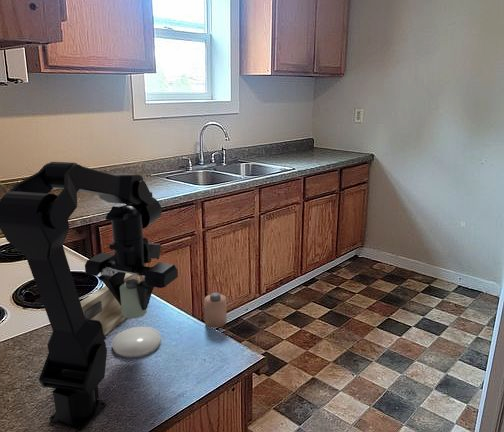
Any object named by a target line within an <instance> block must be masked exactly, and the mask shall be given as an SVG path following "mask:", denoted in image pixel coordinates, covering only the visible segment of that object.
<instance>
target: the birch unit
mask: <svg viewBox="0 0 504 432" xmlns="http://www.w3.org/2000/svg"><path fill="white" fill-rule="evenodd" d="M138 276H139V275H135V274H129V273H126V274H125V277H124V283H126V281H128V280H131V279H136V280H138ZM80 303H81V306H82V310H83V313H84V316H85V319H90V320H98V321H100V323H101V324H102V329H103V333H104V335H105V336H106V335H107V334H109V333H110V332H111V331H112V330H113V329H115V328H117V326H119V325H120V324H121V323H122V322H123V321H125V320H126V319H127V318H125V317H123V316H122V308H121V305H120V304H119V302H118V301H117V300H116V298H115V297H114V295H113V294H112V293H111V291H110V290H109V289H108V288H107V286H106V285H104V286H103V287H100V289H98V290H97V291H95V292H93V293H92V294H90V295H88V296H87V297H85V298H84V299H82V300H81V301H80Z"/></svg>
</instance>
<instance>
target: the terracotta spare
mask: <svg viewBox="0 0 504 432" xmlns="http://www.w3.org/2000/svg"><path fill="white" fill-rule="evenodd" d="M204 323H205V326H207V327H209V328H210V329H211V328H212V329H218V328H222V327H224V326H226V324H227V297H226V296H225V295H223V294H221V293H219V292H212V293H210V294H208V295H206V296H205V297H204Z"/></svg>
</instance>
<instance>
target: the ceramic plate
mask: <svg viewBox="0 0 504 432" xmlns="http://www.w3.org/2000/svg"><path fill="white" fill-rule="evenodd" d="M161 337H162V336H161V333H160V331H158V330H157V329H155V328H153V327H149V326H134V327H131V328H127V329H124V330H122V331H120V332H119V333H117V334H116V335H115V336H114V338H113V339H112V342H111V343H112V345H111V346H112V350H113V352H114V353H115V354H116V355H118V356H121V357H124V358H138V357H144V356H146V355H147V356H148V355H149V354H151V353H153V352H154V351H155V350H157V349H158V348H159V347H160V345H161V343H162V339H161Z"/></svg>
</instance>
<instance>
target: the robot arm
mask: <svg viewBox="0 0 504 432" xmlns="http://www.w3.org/2000/svg"><path fill="white" fill-rule="evenodd" d="M53 189H58V190H59V189H60V190H61V191H60V193H59V194H58V195H56V194H55V193H51V191H52V190H53ZM78 192H83V193H87V194H88V193H89V194H95V195H97V196H99V199H101V200H102V201H104V202H107V203H109V204H110V203H111V204H122V205H121V206H115V205H114V206H112V207H111V209H110V210H109V212H107V214H106V216H105V220H106V221H111V230H112V240H113V241H112V242H111V243H109V245H108V246H109V250H112V251H114V254H112V253H106V252H105V253H104V252H100V253H98V254H96V255H95V256H93V257H91V258H89V259H87V260H86V261H85V264H84V272H85V275H89V276H94V277H97V276H98V280H99V281H101V282H102V283H103V284H104V286H107V288H108V289H109V290H110V291H111V293H112V294H113V295H114V297H115V298H116V300H117V301H118V302H119V304H120V305H121V297H120V286H121V285H122V284H124V277H125V274H126V273H129V274H135V275H138V276H139V277H140V276H142V277H141V282H140V283H139V284H137V285H136V287H137V291H138V296H139V300H140V304H141V307H142V310H146V309H147V310H148V306H149V303H150V299H151V296H152V294H153V291H154V289H155V288H158V289H162V288H165V287H167V286H169V285H170V284H171V283H172V282H173V281H175V280H176V279H178V277H179V272H178V268H177V266H176V265H175V264H174V263H173V264H172V263H166V262H161V261H160V262H158V263H156V264H155V265H153V266H151V267H150V266H146V264H150V263H151V262H152V259H156V260H160V258H161V257H160V256H161V248H162V244H159V243H152V242H149V240H148V238H147V237H144V231H143V229H146V228H147V227H148V226H150V225H151V224H153V223H154V222H156V221H157V220H159V219H160V217H161V216H162V212H163V208H162V206H161V204H160V202H159V201H158V200H157V198H154V197H153V192H152V191H150V189H149V187H148V185H147V183H146V181H144V178H143V176H142V175H141V174H137V173H136V174H135V173H117V172H116V173H115V172H114V173H113V172H110V173H108V172H104V171H101V170H98V169H94V168H90V167H86V166H83V165H80V164H78V163H77V162H72V161H71V162H68V161H67V162H66V161H50V162H49V163H48V162H47V163H46V164H44V165H43V166H42V167H41V169H40V170H39V171H38V172H36V173H34V174H32V175H30V176H29V177H27V178H25V179H23V180H21V181H20V182H18V183H16V184H15V185H14V186H13V187H12V188H11V189H10V190H9V191H8V192H7V193H5V194H4V195H3V196H2V197H1V198H0V231H1V233H2V234H3V236H4V238H5V239H6V241H7V242H8V243H9V244H10V245H11V246H13V247H14V248H15V249H16V250H18V251H19V252H20V254H22V255H23V256H24V257H25V259H26V261H27V263H28V267H29V269H30V272H31V274H32V277H33V281H34V282H35V285H36V288H37V291H38V294H39V296H40V299H41V302H42V305H43V308H44V310H45V313H46V316H47V318H48V322H49V323H50V326H51V335H50V337H49V339H48V342H47V351H48V354H47V356H46V359H45V362H44V364H43V368H42V370H41V372H40V375H39V377H38V382H39V384H40V385H41V386H42V388H50V389H51V388H52V389H53V390H52V397H53V403H54V411H55V412H54V413H53V414H52V415H51V416H49V421H50V422H51V423H54V424H57V425H60V426H63V427H65V428H69V429H72V430H74V431H78V432H79V431H83V429H85V427H86V426H87V425H89V423H91V421H93V420H94V418H96V416H97V415H98V414H99V413H101V411H102V410H103V409H104V408H106V402H105V401H102V400H99V399H100V397H99V395H100V394H99V388H98V386H99V384H100V383H101V382H102V381H103V380H104V379H105V376H106V365H107V357H108V356H107V355H108V349H107V346H106V342H105V340H107V336H106V335H104V333H103V329H102V324H101V323H100V321H98V320H90V319H85V316H84V313H83V310H82V306H81V303H80V302H81V301H80V297H79V295H78V290H77V287H76V284H75V281H74V277H73V273H72V271H71V269H70V265H69V261H68V257H67V255H66V252H65V249H64V243H65V239H66V237H67V235H68V233H69V230H70V224H69V219H70V217H71V216H72V214H74V212H75V211H76V209H77V207H78ZM99 274H100V275H99Z"/></svg>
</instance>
